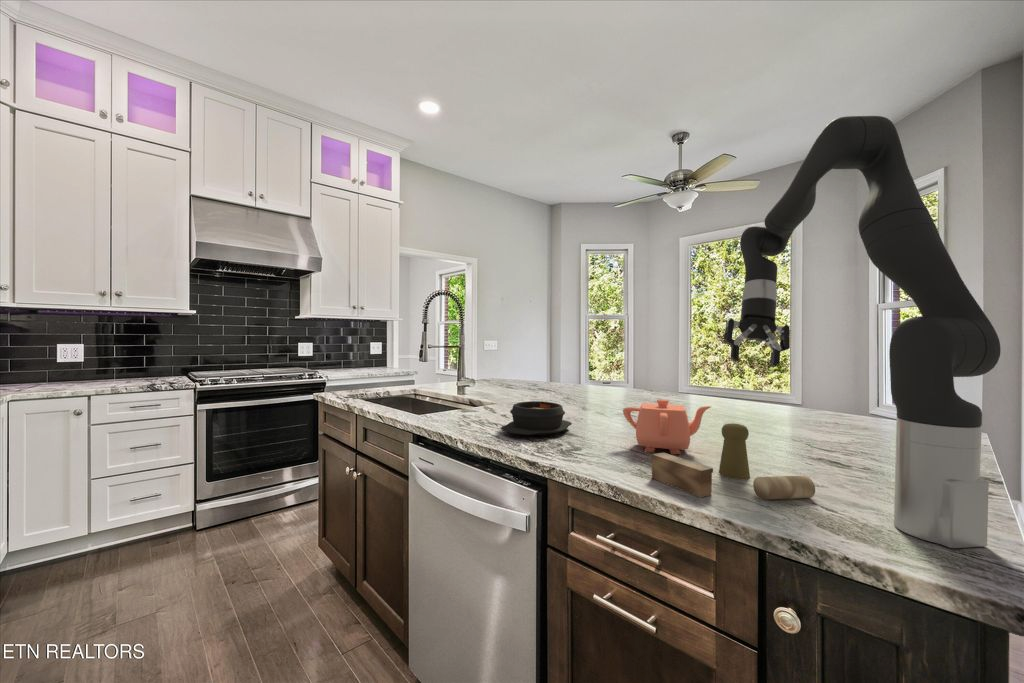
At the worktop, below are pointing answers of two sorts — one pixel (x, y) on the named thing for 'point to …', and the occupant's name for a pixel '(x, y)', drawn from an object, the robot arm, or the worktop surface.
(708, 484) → the block
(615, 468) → the worktop surface
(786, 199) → the robot arm
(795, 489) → the roller
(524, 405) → the casserole
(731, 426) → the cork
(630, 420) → the teapot
